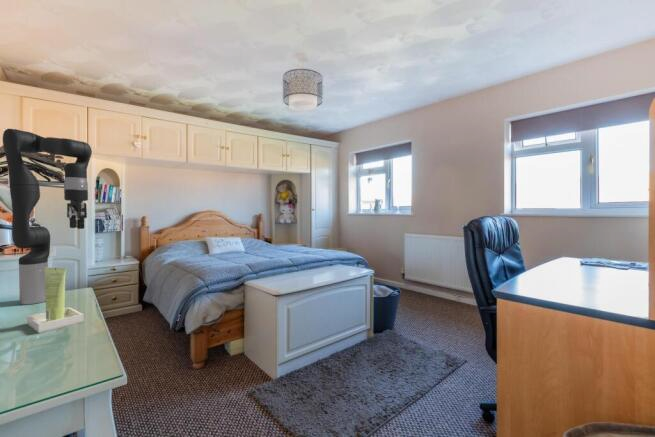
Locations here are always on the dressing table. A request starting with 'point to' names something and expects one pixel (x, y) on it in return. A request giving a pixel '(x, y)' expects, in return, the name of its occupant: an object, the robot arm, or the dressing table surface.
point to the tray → (54, 321)
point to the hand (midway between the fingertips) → (77, 228)
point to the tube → (55, 293)
